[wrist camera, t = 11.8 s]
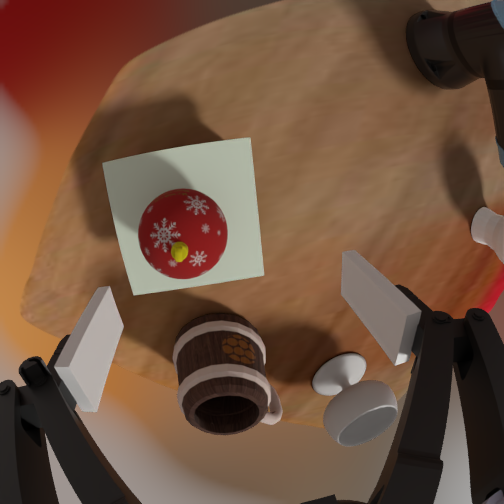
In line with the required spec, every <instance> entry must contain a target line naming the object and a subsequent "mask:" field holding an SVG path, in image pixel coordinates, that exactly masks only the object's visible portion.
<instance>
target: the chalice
mask: <svg viewBox="0 0 504 504" xmlns="http://www.w3.org/2000/svg"><path fill="white" fill-rule="evenodd" d="M365 370H366V360H365V359H364V357H362V356H361V355H359V354H355V353H349V354H343V355H340V356H337V357H335V358H333V359H331V360H329V361H328V362H326V363H325V364H324V365H323V366H322V367H320V369H319V370H318V371H317V372H316V374H315V376H314V378H313V381H312V386H313V389H314V390H315V391H316V392H317V393H319V394H321V395H336V394H337V395H336V396H335V397H334V398H333V399H332V400H331V401H330V402H329V404H328V405H327V407H326V410H325V412H324V417H323V423H324V426H325V428H326V430H327V432H328V433H329V435H330V436H331V437H332V438H333V439H334V440H335V441H336V442H338V443H339V444H341V445H344V446H356V445H360V444H363V443H365V442H368V441H370V440H372V439H373V438H376V437H377V436H379V435H380V434H382V433H383V432H384V431H385V430H386V429H388V428H389V427H390V426H391V424H392V423H393V422H394V420H395V418H396V416H397V402H396V398H395V395H394V393H393V391H392V390H391V388H390V387H389V386H388V385H387V384H385V383H383V382H381V381H376V380H367V381H362V382H358V381H359V380H360V379H361V378H362V376H363V375H364V373H365Z"/></svg>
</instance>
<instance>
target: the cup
mask: <svg viewBox="0 0 504 504" xmlns="http://www.w3.org/2000/svg"><path fill="white" fill-rule="evenodd" d="M471 234H472V238H473V239H474V241H476V242H479V243H482V244H486V245H488V246H490V247H491V248H492V249H493V250H494V251H495V252H496V254H497V256H498V257H499V259H500V260H501V261H502V262H503V264H504V216H502V215H498V214H496V213H494V212H493V211H492V210H490V209H488V208H487V207H482V208H480V209H479V210H478V211H477V212H476V214H475V216H474V218H473V221H472V226H471Z"/></svg>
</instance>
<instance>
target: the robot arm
mask: <svg viewBox="0 0 504 504" xmlns="http://www.w3.org/2000/svg"><path fill="white" fill-rule="evenodd" d="M406 37H407V43H408V47H409V50H410V53H411V55H412V58H413V60H414V62H415V63H416V65H417V67H418V68H419V70H420V71H421V72H422V74H423V75H424V76H425V77H426V78H427V79H428V80H429V81H430V82H431V83H433V84H434V85H436V86H437V87H440V88H442V89H459V88H463V87H464V86H466V85H468V84H470V83H472V82H473V81H475V80H477V79H479V78H485V81H486V85H487V89H488V94H489V98H490V103H491V108H492V113H493V119H494V125H495V132H496V137H495V139H496V143H497V146H498V152H499V158H500V162H501V164H502V166H503V167H504V0H493V1H491V2H488V3H484V4H480V5H476V6H472V7H468V8H465V9H461V10H458V11H454V12H448V11H437V10H425V11H422V12H419V13H417V14H415V15H413V16H412V17H411V18H410V20H409V22H408V24H407V29H406ZM341 295H342V296H343V297H344V299H345V300H346V301H347V302H348V304H349V305H350V306H351V308H352V309H353V310H354V312H355V313H356V314H357V315H358V317H359V318H360V319H361V321H362V322H363V323H364V325H365V326H366V327H367V329H368V330H369V331H370V333H371V334H372V335H373V337H374V338H375V339H376V341H377V342H378V343H379V345H380V346H381V347H382V349H383V350H384V352H385V353H386V354H387V356H388V357H389V358H390V360H391V361H392V362H393V364H394V365H395V366H396V365H399V364H401V363H404V362H407V361H409V358H410V355H411V351H412V352H413V353H414V354H415V355H416V358H415V361H414V364H413V367H412V370H411V374H412V375H411V379H410V383H409V387H408V392H407V396H406V400H405V404H404V407H403V410H402V414H401V417H400V421H399V424H398V427H397V431H396V434H395V437H394V440H393V443H392V446H391V449H390V451H389V455H388V457H387V460H386V463H385V465H384V468H383V470H382V473H381V476H380V478H379V480H378V483H377V485H376V487H375V489H374V491H373V493H372V495H371V497H370V499H369V501H368V503H363V502H359V501H352V500H336V497H335V495H331V496H327V497H324V498H320V499H316V500H312V501H308V502H304V503H301V504H433V503H434V500H435V496H436V492H437V489H438V486H439V482H440V478H441V474H442V469H443V461H442V460H440V455H441V450H442V445H443V439H444V434H445V429H446V423H447V416H448V409H449V401H450V392H451V381H452V368H454V372H455V377H456V381H457V386H458V391H459V396H460V401H461V406H462V412H463V418H464V424H465V431H466V439H467V447H468V456H469V468H470V485H471V486H470V487H471V497H472V503H473V504H504V344H503V342H502V340H501V338H500V336H499V333H498V331H497V329H496V327H495V325H494V323H493V321H492V319H491V317H490V315H489V314H488V313H487V312H486V311H484V310H482V309H479V308H472V309H469V310H468V311H467V313H466V316H465V318H463V319H453V318H452V317H451V316H450V315H449V314H447V313H445V312H442V311H434V312H433V311H432V310H431V309H430V308H429V307H428V306H427V305H425V304H424V303H423V302H422V301H421V300H420V299H418V297H417V296H416V295H414V294H413V293H412V292H411V291H410V290H409V289H408V288H406V287H404V286H401V285H393V284H392V283H391V282H390V281H389V280H388V279H387V278H386V277H384V276H383V275H382V274H381V273H380V272H379V271H378V270H377V269H376V268H374V267H373V266H372V265H371V264H370V263H369V262H368V261H367V260H365V259H364V258H363V257H362V256H361V255H360V254H359V253H357V252H356V251H355V250H351V251H345V252H342V282H341ZM123 327H124V326H123V323H122V320H121V318H120V315H119V312H118V309H117V306H116V304H115V301H114V298H113V295H112V292H111V289H110V286H106V287H98V288H97V290H96V291H95V293H94V295H93V296H92V298H91V300H90V301H89V303H88V305H87V307H86V308H85V310H84V312H83V313H82V315H81V317H80V319H79V321H78V322H77V324H76V326H75V328H74V329H73V331H72V333H71V335H66V336H65V337H64V338H63V339H62V340H61V341H60V343H59V344H58V346H57V349H56V350H55V352H54V355H52V357H51V359H50V361H49V363H48V365H47V366H46V365H45V363H44V361H43V360H42V358H41V357H38V356H35V357H31V358H28V359H27V360H25V361H24V362H23V363H22V364H21V365H20V367H19V374H20V375H21V377H22V379H23V380H24V381H25V383H26V386H22V387H17V386H16V384H15V383H14V382H13V381H12V380H5V381H3V382H1V383H0V504H59V502H58V498H57V494H56V490H55V486H54V482H53V477H52V472H51V468H50V462H49V457H48V451H47V444H46V437H45V434H46V436H47V438H48V440H49V443H50V445H51V447H52V449H53V451H54V453H55V455H56V458H57V460H58V461H59V463H60V466H61V467H62V469H63V471H64V473H65V475H66V477H67V478H68V481H69V482H70V484H71V486H72V487H73V489H74V491H75V493H76V494H77V496H78V498H79V499H80V501H81V503H82V504H142V503H141V502H140V501H139V500H138V499H137V497H136V496H135V495H134V494H133V493H132V492H131V490H130V489H129V488H128V487H127V485H126V484H125V483H124V481H123V480H122V479H121V478H120V476H119V475H118V474H117V472H116V471H115V470H114V468H113V467H112V466H111V464H110V463H109V462H108V460H107V459H106V458H105V456H104V455H103V453H102V452H101V450H100V449H99V447H98V446H97V444H96V443H95V441H94V440H93V438H92V437H91V435H90V434H89V432H88V430H87V429H86V427H85V425H84V424H83V422H82V420H81V419H80V417H79V415H78V414H77V412H76V411H75V407H76V404H78V406H79V407H80V408H81V410H82V411H83V412H97V410H98V406H99V403H100V399H101V396H102V392H103V389H104V385H105V382H106V378H107V375H108V372H109V369H110V366H111V363H112V360H113V357H114V354H115V351H116V348H117V345H118V342H119V339H120V336H121V333H122V330H123Z"/></svg>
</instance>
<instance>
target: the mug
mask: <svg viewBox="0 0 504 504" xmlns="http://www.w3.org/2000/svg"><path fill="white" fill-rule="evenodd" d="M172 358H173V362H174V366H175V370H176V372H177V374H178V382H179V388H178V394H177V398H178V403H179V406H180V409H181V411H182V413H183V414H184V415H185V417H186V420H187V421H188V422H189V423H190V424H191V425H192V426H194V427H196V428H198V429H200V430H201V431H204V432H207V433H211V434H215V435H231V434H237V433H240V432H243V431H246V430H248V429H250V428H252V427H254V426H255V425H257V424H258V423H259V422H263V423H266V424H269V425H273V424H275V423H276V422H278V421H279V420H280V419H281V415H282V407H281V403H280V399H279V396H278V394H277V392H276V390H275V389H274V388H273V387H272V386H271V385H270V384H269V383H268V381H267V379H266V375H265V367H264V365H265V363H266V351H265V346H264V344H263V342H262V339H261V337H260V335H259V333H258V331H257V329H256V328H255V327H254V326H253V325H252V324H250V323H249V322H248V321H246V320H244V319H242V318H240V317H238V316H235V315H229V314H223V313H219V314H209V315H205V316H202V317H199V318H197V319H194V320H192V321H191V322H190V323H188V324H187V325H186V326H184V327H183V328H182V330H181V331H180V333H179V334H178V336H177V337H176V342H175V346H174V351H173V357H172ZM268 406H269V408H270V412H267V411H268Z"/></svg>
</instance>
